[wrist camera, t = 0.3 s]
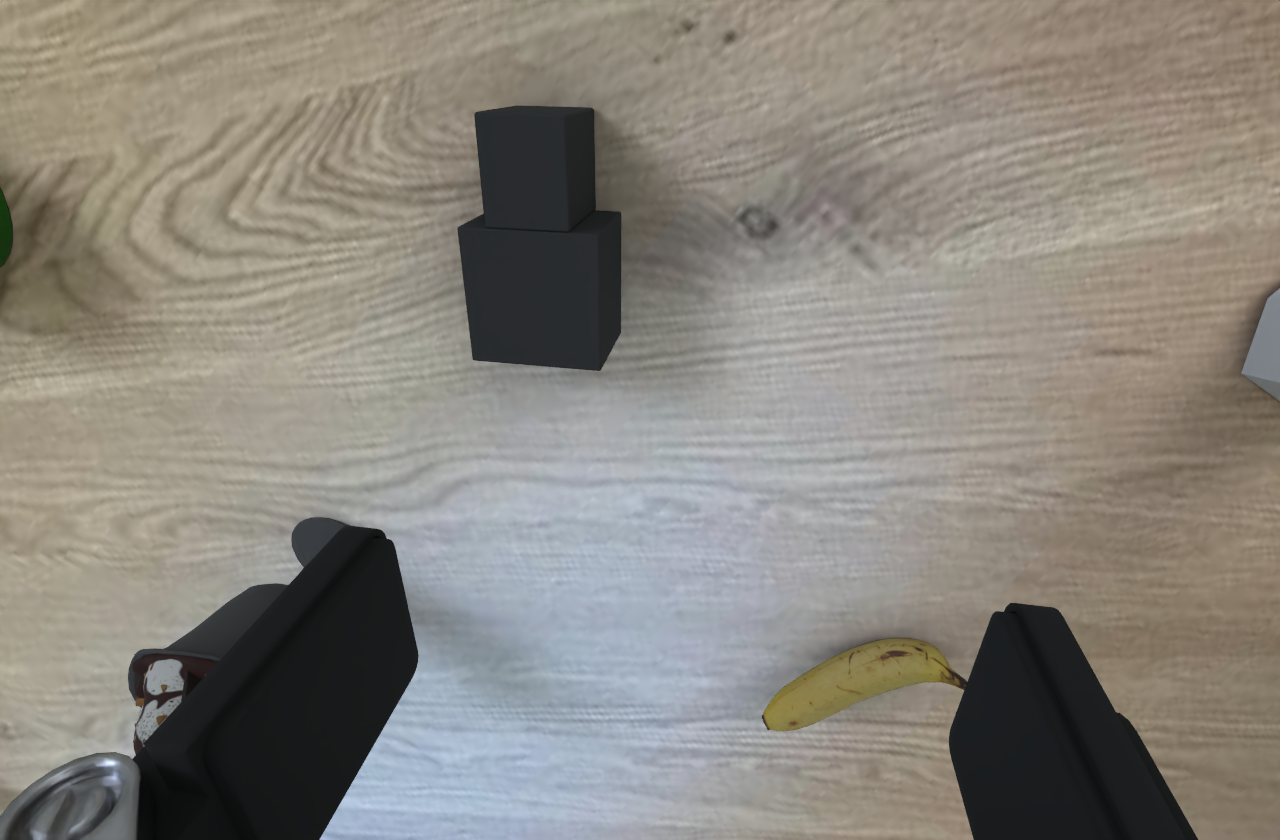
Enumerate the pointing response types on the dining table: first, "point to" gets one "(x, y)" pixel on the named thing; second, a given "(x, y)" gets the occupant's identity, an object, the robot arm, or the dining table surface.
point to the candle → (4, 230)
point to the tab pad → (541, 243)
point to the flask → (1266, 349)
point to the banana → (856, 680)
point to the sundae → (209, 640)
